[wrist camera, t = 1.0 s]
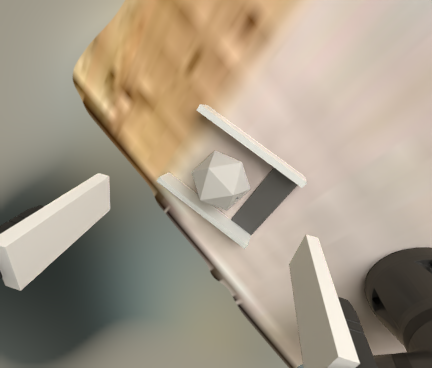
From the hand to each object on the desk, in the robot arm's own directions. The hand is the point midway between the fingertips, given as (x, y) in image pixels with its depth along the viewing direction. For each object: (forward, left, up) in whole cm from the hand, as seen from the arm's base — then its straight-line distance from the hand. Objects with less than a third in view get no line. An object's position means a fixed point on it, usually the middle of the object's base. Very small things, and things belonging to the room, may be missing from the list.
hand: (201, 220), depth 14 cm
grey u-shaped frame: (+1, +5, -23) cm, 24 cm away
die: (+1, +5, -23) cm, 24 cm away
